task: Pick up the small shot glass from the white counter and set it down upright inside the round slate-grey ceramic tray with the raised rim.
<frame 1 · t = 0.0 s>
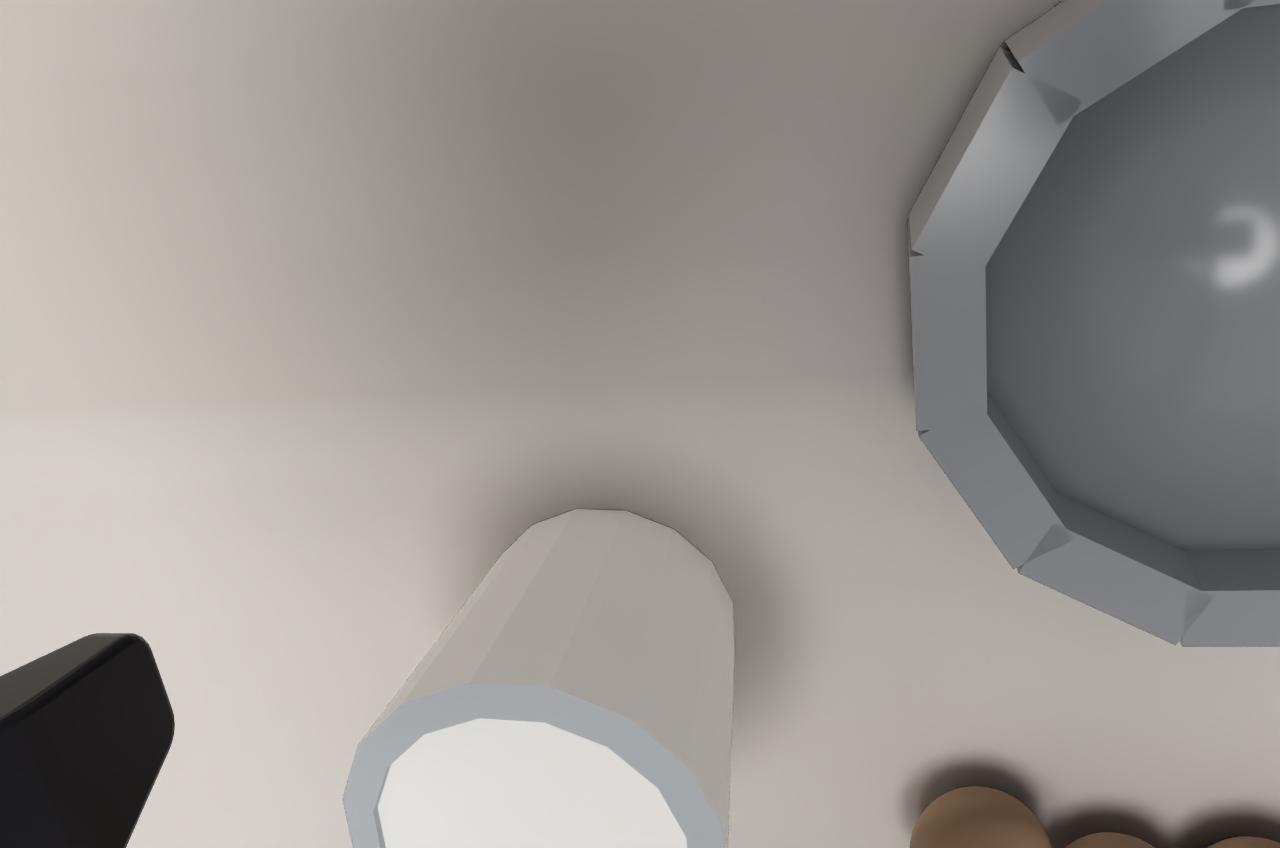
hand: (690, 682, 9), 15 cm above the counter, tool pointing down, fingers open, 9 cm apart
tray: (1271, 281, 21), on the counter
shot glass: (612, 613, 27), on the counter
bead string: (1172, 842, 27), on the counter
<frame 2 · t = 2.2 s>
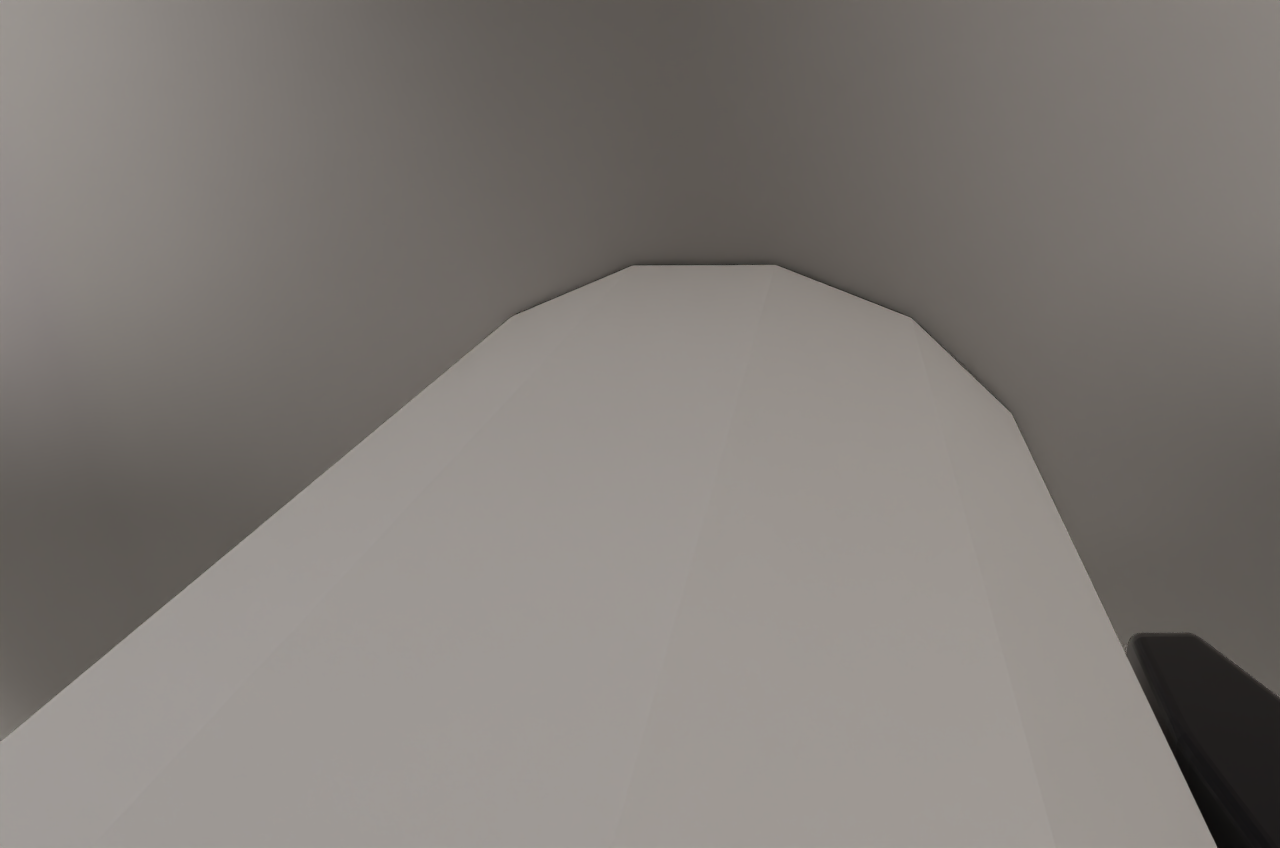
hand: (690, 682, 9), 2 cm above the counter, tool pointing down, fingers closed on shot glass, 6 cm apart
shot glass: (718, 561, 11), on the counter, touching gripper
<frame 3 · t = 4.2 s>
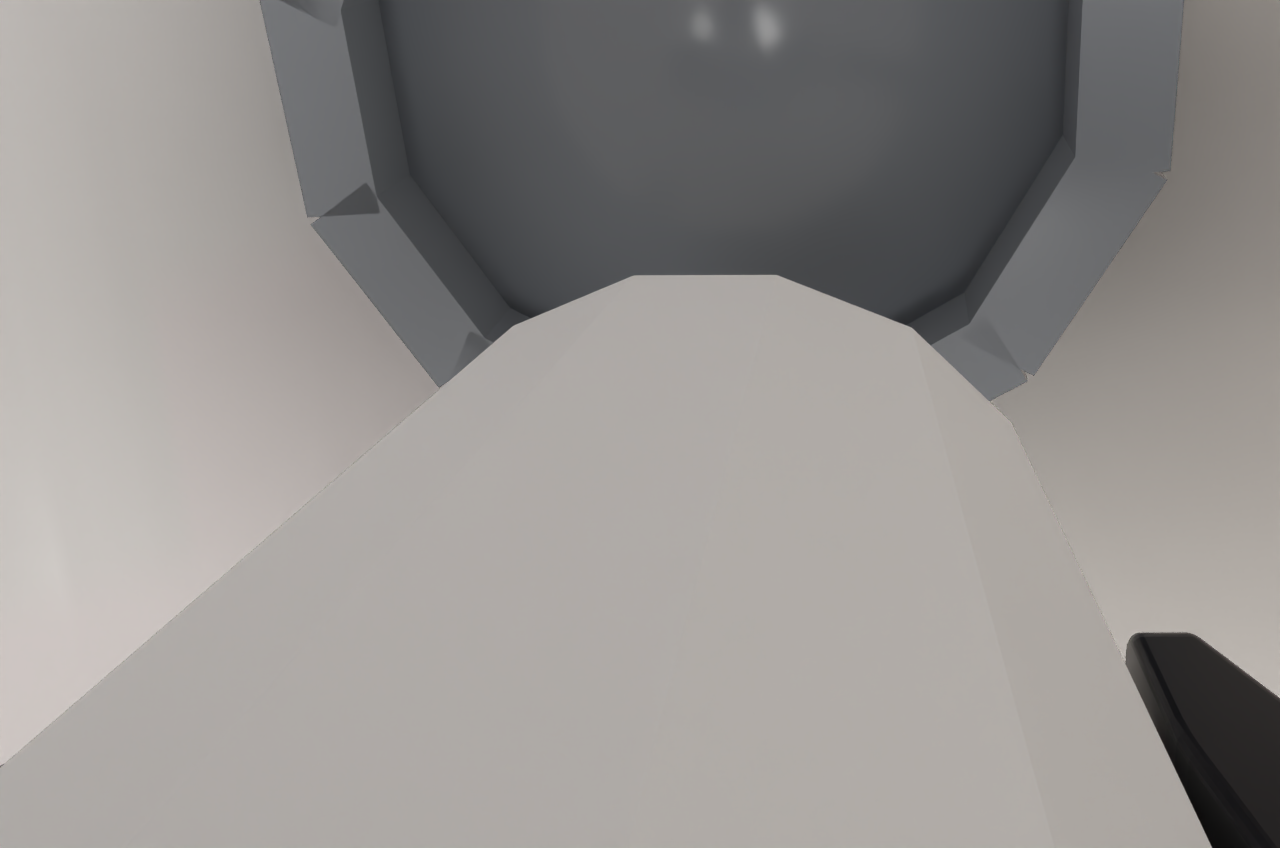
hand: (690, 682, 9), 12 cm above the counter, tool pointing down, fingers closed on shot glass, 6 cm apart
tray: (717, 57, 19), on the counter
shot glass: (719, 569, 11), point 10 cm above the counter, touching gripper
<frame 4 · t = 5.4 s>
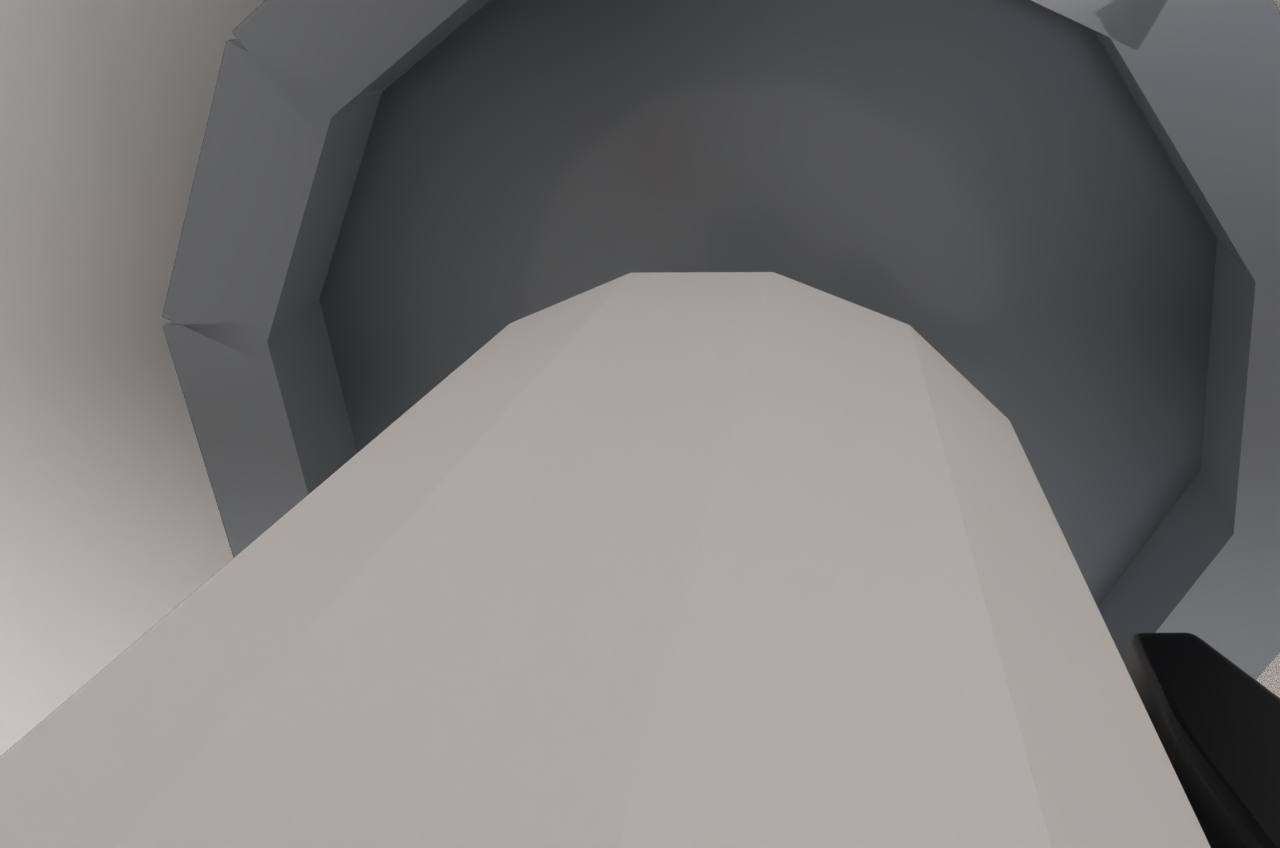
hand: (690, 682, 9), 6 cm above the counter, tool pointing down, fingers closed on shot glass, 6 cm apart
tray: (750, 356, 15), on the counter
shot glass: (717, 567, 11), point 5 cm above the counter, touching gripper
when the fingers open (3 cm above the counter, at t = 6.4 s): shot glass drops 1 cm, resting on tray.
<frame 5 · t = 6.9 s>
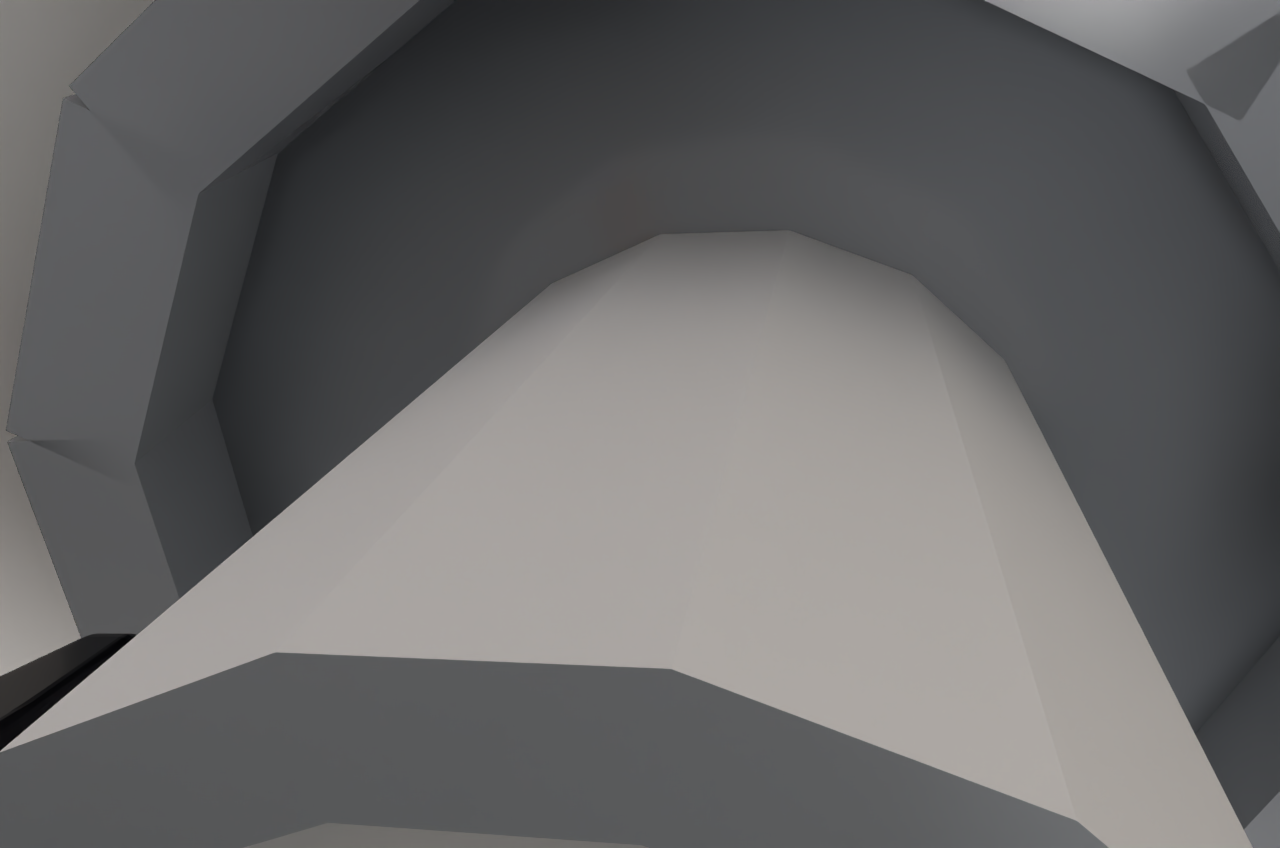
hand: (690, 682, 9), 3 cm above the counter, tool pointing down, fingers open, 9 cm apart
tray: (736, 467, 12), on the counter
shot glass: (742, 505, 12), point 1 cm above the counter, touching tray
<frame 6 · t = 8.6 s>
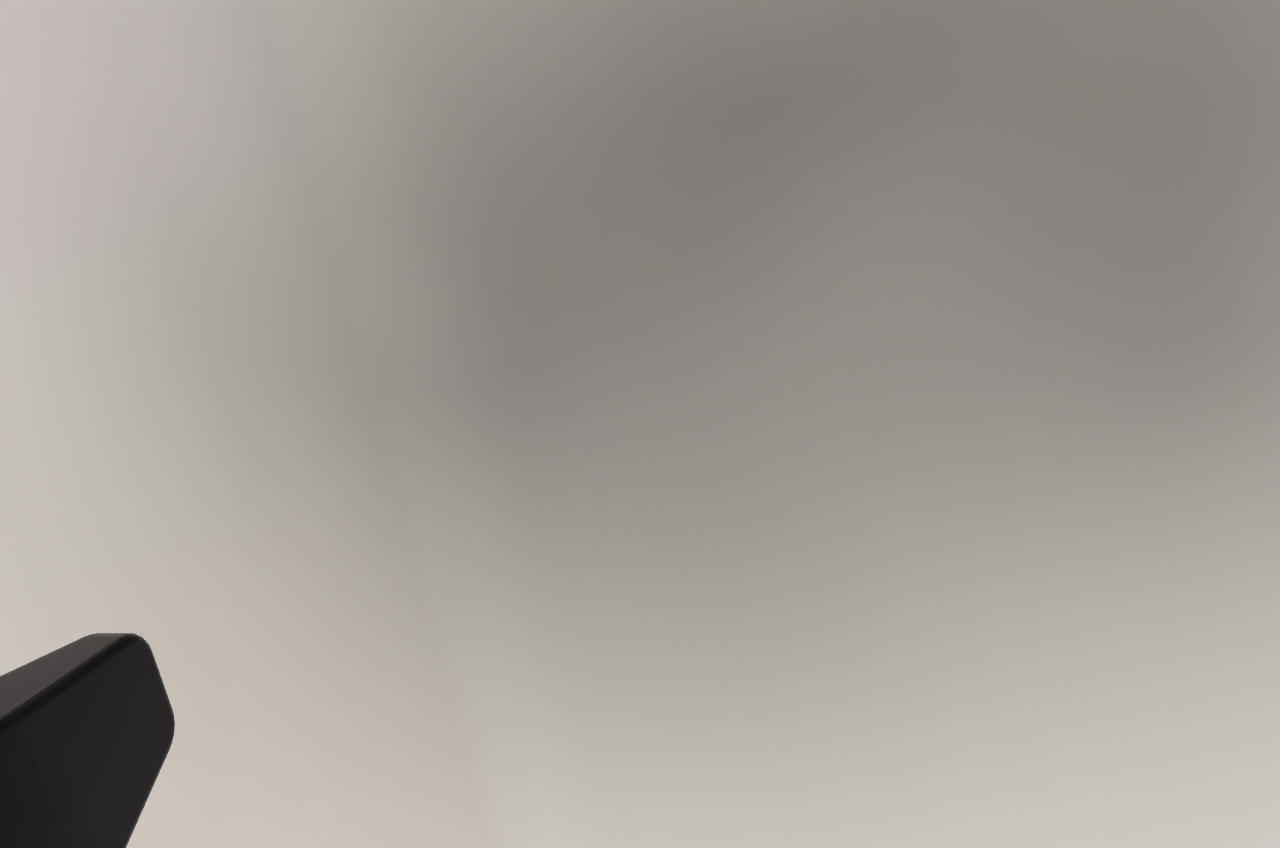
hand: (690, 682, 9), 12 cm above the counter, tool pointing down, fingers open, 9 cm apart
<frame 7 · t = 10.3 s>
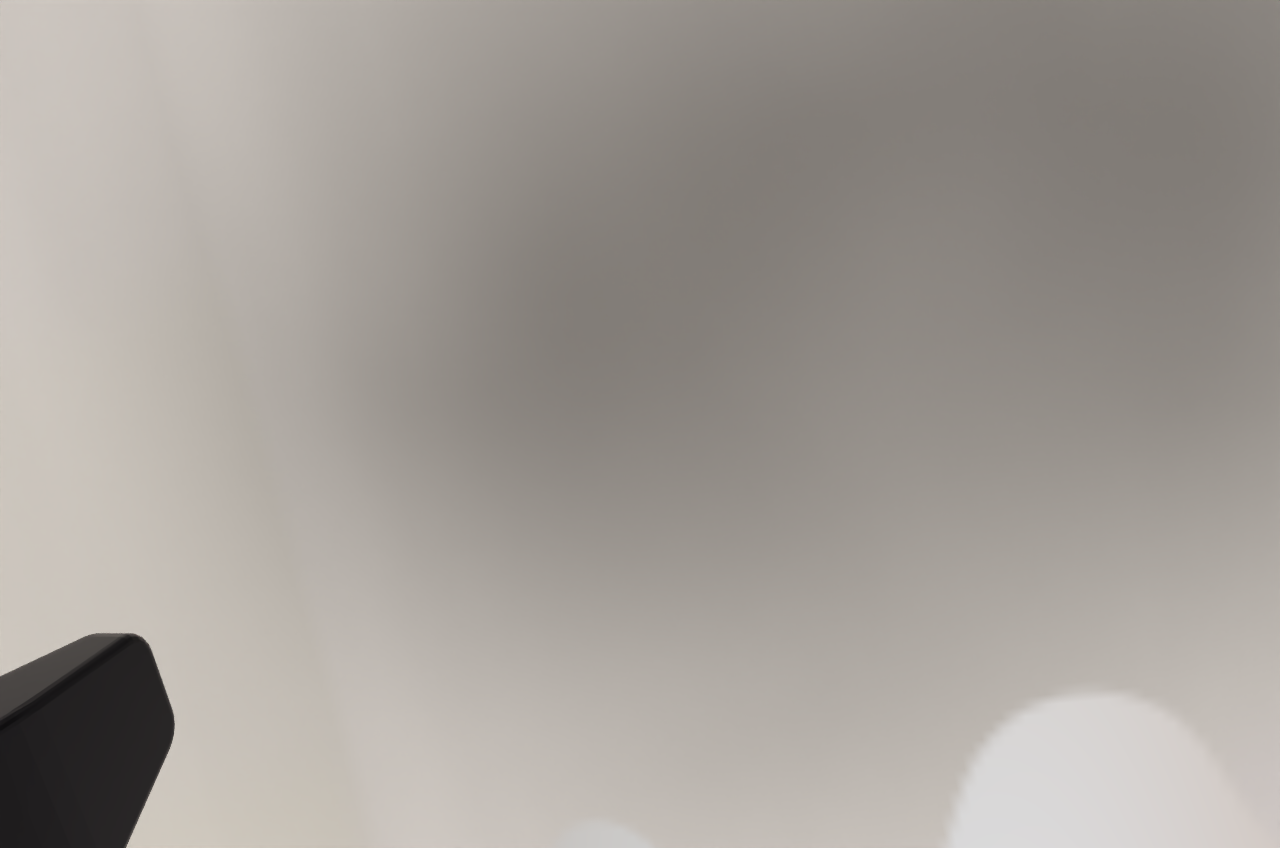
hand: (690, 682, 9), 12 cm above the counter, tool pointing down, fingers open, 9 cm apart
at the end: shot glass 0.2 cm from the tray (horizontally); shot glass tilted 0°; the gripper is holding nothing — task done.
